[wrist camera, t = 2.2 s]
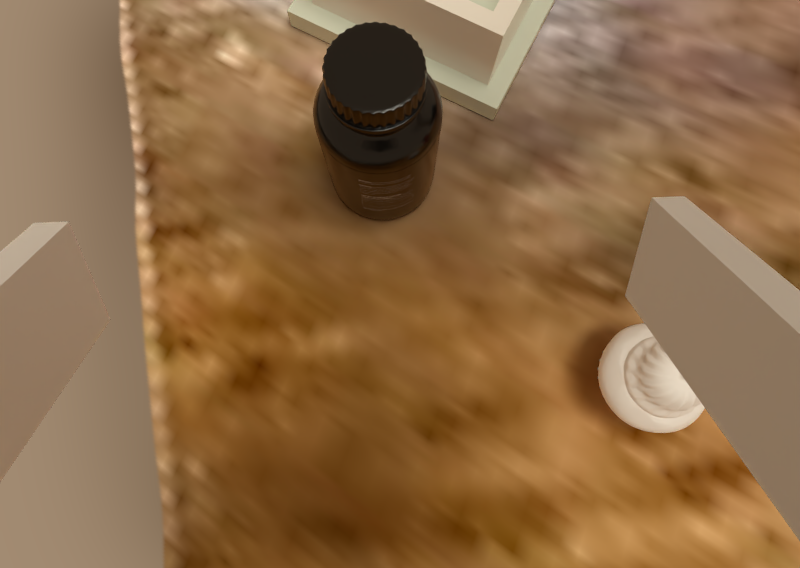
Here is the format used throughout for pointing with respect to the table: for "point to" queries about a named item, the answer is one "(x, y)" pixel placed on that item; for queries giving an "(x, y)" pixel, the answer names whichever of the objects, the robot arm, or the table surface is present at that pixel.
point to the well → (445, 38)
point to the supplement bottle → (378, 120)
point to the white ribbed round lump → (645, 383)
